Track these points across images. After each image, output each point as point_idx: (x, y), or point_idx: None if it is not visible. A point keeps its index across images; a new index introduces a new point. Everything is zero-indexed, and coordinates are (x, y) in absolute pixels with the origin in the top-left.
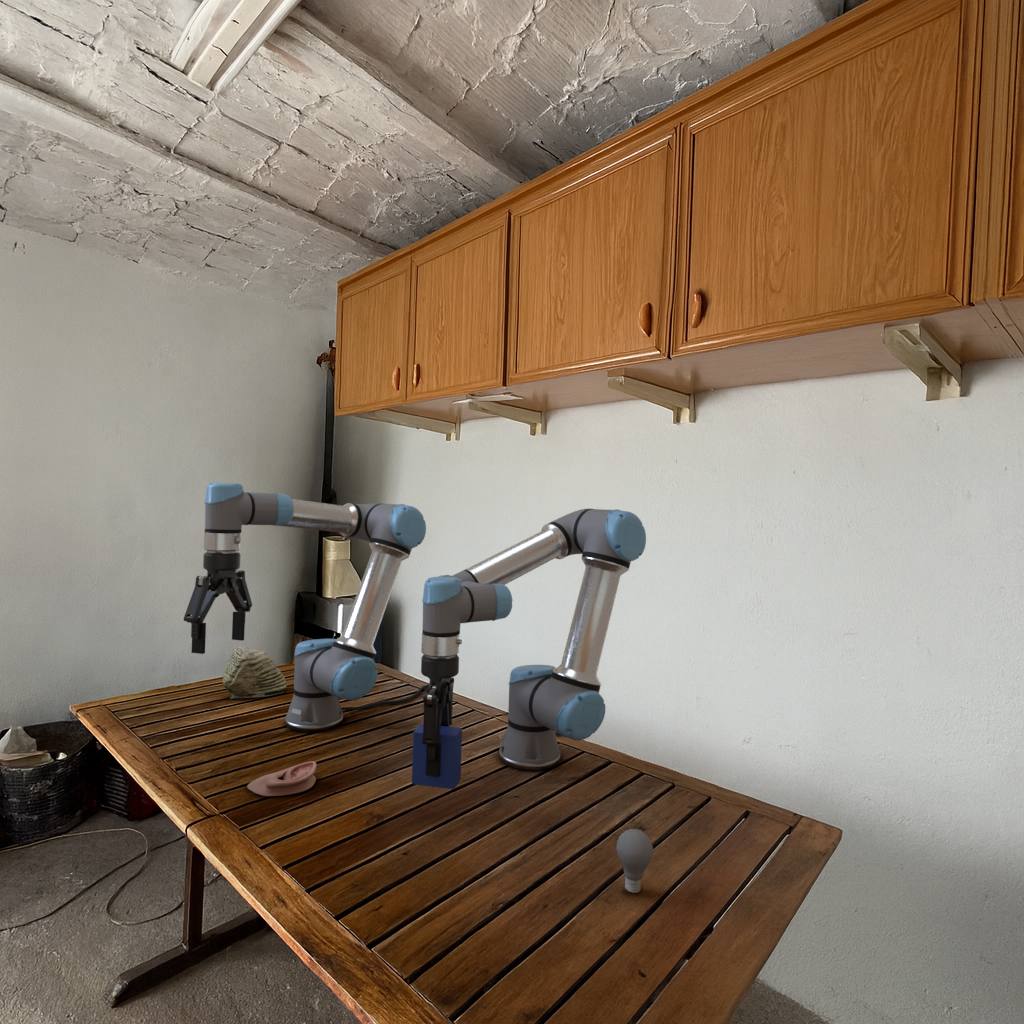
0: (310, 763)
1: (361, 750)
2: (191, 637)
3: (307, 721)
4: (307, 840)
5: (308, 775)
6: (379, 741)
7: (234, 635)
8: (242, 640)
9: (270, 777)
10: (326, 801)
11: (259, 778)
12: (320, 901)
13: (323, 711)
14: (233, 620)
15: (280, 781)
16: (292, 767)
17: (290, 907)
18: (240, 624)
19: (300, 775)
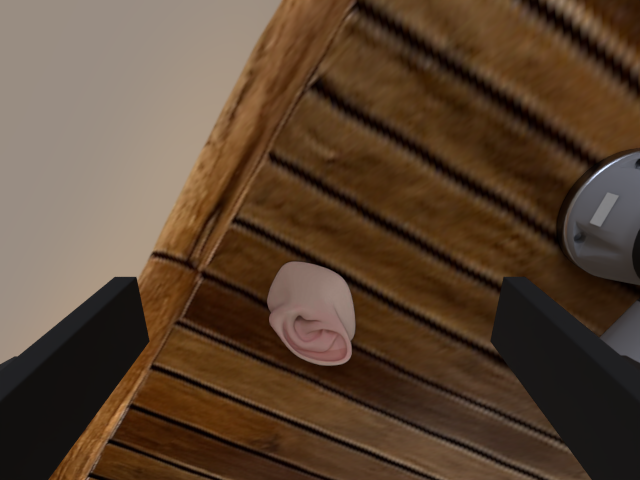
0: (347, 350)
1: (478, 355)
2: (8, 360)
3: (580, 232)
4: (189, 402)
5: (310, 361)
6: None
7: (514, 309)
8: (494, 340)
9: (284, 314)
10: (287, 381)
11: (301, 279)
12: (101, 456)
13: (605, 270)
14: (599, 373)
15: (286, 327)
16: (330, 327)
17: (80, 439)
18: (557, 408)
19: (312, 346)
